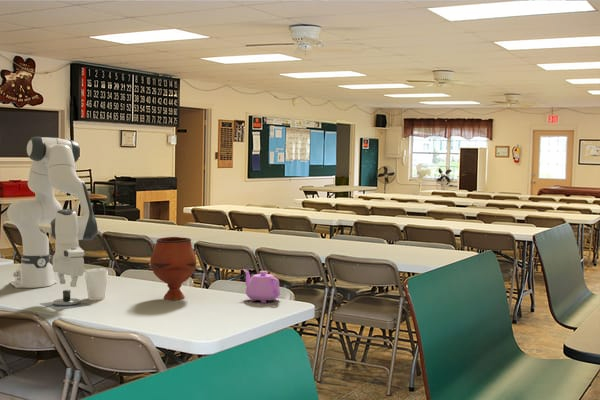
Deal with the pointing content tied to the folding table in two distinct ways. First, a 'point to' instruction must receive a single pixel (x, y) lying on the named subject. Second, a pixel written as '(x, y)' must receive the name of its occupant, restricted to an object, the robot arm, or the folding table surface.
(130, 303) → the folding table surface
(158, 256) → the goblet
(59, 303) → the lid
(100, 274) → the cup
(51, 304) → the mat
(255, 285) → the teapot
